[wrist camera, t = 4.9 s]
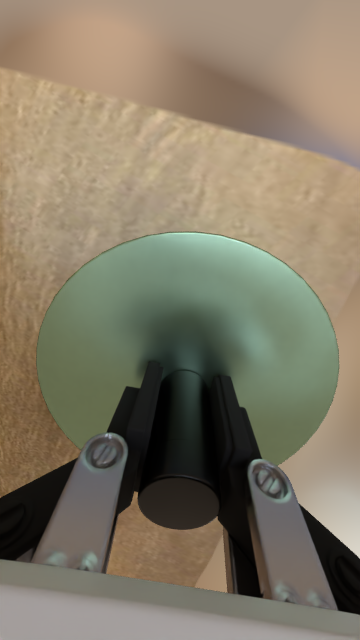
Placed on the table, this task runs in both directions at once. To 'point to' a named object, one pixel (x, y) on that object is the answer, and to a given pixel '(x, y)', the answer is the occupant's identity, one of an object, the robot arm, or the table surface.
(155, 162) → the table surface
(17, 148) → the table surface
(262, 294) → the lid
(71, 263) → the table surface
